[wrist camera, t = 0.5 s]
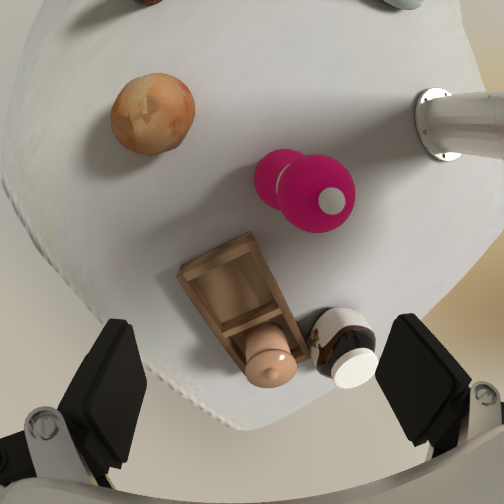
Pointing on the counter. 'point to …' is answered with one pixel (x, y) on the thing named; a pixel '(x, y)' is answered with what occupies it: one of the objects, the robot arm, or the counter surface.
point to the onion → (152, 114)
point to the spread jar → (343, 347)
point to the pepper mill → (306, 189)
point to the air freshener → (405, 4)
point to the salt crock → (268, 356)
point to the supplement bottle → (147, 1)
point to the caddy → (239, 296)
